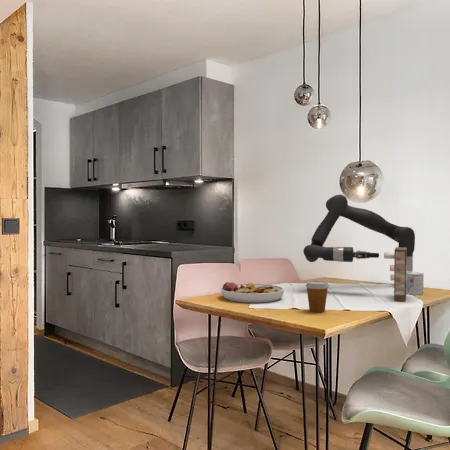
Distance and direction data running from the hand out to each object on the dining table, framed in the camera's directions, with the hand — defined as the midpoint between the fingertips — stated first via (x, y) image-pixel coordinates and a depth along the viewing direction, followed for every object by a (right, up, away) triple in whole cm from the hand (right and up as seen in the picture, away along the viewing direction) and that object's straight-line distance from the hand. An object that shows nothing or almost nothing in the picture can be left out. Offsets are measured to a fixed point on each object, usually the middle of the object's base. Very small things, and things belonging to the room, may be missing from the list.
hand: (378, 255), depth 240 cm
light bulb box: (+19, -20, +7) cm, 28 cm away
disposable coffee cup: (-38, -21, -37) cm, 57 cm away
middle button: (+5, -7, -13) cm, 15 cm away
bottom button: (+7, -12, -8) cm, 16 cm away
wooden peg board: (+8, -20, -8) cm, 23 cm away
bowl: (-63, -21, -7) cm, 67 cm away
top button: (+6, -1, -2) cm, 6 cm away
